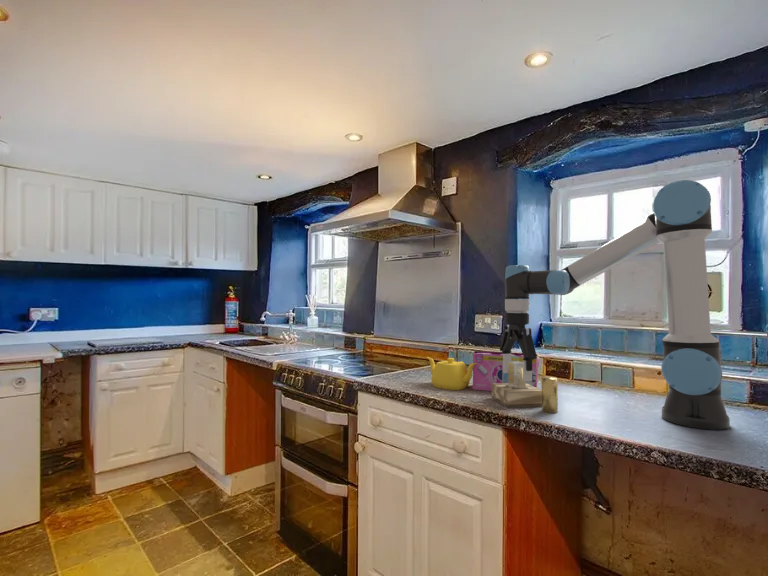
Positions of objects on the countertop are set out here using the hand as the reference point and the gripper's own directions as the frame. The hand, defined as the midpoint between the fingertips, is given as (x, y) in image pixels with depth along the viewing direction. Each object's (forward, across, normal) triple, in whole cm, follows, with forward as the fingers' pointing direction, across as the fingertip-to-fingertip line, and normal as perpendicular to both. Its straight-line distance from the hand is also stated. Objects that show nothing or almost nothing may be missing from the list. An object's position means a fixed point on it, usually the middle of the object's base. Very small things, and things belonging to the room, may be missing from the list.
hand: (516, 376), depth 132 cm
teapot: (+8, +26, +13) cm, 30 cm away
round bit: (+8, -11, -5) cm, 15 cm away
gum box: (+9, +17, -4) cm, 20 cm away
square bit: (+7, 0, 0) cm, 7 cm away
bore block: (+8, 0, 0) cm, 8 cm away
